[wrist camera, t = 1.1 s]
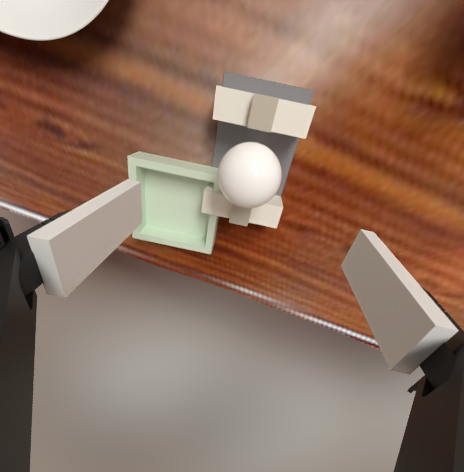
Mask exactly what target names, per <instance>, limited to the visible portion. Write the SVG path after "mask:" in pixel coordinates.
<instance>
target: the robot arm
mask: <svg viewBox="0 0 464 472" xmlns="http://www.w3.org/2000/svg"><path fill="white" fill-rule="evenodd" d="M141 223H142V203H141V182H139V181H135V180H130V179H127V180H126V181H124V182H122V183H120V184H118V185H117V186H115V187H113V188H111V189H109V190H108V191H106V192H104V193H102V194H100V195H99V196H97V197H95V198H93V199H91V200H90V201H88V202H86V203H84V204H83V205H81V206H79V207H77V208H75V209H74V210H68V211H65V212H61V213H58V214H56V215H55V216H53V217H51V218H49V220H45V221H43V222H42V223H41V224H38V225H36V226H34V227H32V228H30V229H28V230H27V231H25V232H23V233H21V234H19V235H17V236H16V237H14V235H13V232H12V229H11V227H10V224H9V222H8V220H7V219H5V218H3V217H0V472H30V449H31V425H32V401H33V400H32V399H33V376H34V355H35V331H36V308H37V307H36V306H37V295H36V292H35V289H36V288H37V287H39V286H40V285H41V284H42V283H43V285H44V287H45V290H46V293H47V294H50V295H54V296H59V297H63V298H66V297H67V296H68V295H69V294H70V293H71V292H72V291H73V290H74V289H75V288H76V287H77V286H78V285H79V284H80V283H81V282H82V281H83V280H84V279H85V278H86V277H87V276H88V275H89V274H90V273H91V272H92V271H93V270H94V269H95V268H96V267H98V266H99V265H100V264H101V263H102V262H103V261H104V260H105V259H106V258H107V257H108V256H109V255H110V254H111V253H112V252H113V251H114V250H115V249H116V248H117V247H118V246H119V245H120V244H121V243H122V242H123V241H124V240H125V239H126V238H127V237H128V236H129V235H130V234H131V233H132V232H133V231H134V230H135V229H136V228H137V227H138V226H139V225H140V224H141ZM341 268H342V270H343V272H344V274H345V276H346V278H347V280H348V282H349V284H350V287H351V289H352V291H353V293H354V295H355V297H356V299H357V301H358V303H359V305H360V307H361V310H362V312H363V314H364V316H365V318H366V320H367V322H368V324H369V326H370V328H371V331H372V333H373V335H374V337H375V339H376V341H377V343H378V345H379V347H380V349H381V351H382V354H383V356H384V358H385V360H386V362H387V364H388V366H389V368H390V370H392V371H396V372H401V373H406V374H411V373H412V372H413V371H414V370H415V369H416V368H418V367H419V366H420V367H421V368H422V370H423V372H424V373H425V376H423V377H422V378H421V379H420V380H419V381H418V382H416V383H415V384H414V385H413V386H411V387H410V388H409V390H408V391H409V392H410V393H412V392H413V391H416V394H415V398H414V401H413V405H412V408H411V412H410V415H409V419H408V423H407V426H406V430H405V433H404V437H403V440H402V444H401V448H400V452H399V455H398V458H397V462H396V465H395V469H394V472H464V331H463V330H462V329H461V328H460V327H459V326H458V325H457V323H456V322H455V321H454V320H453V319H452V318H451V317H450V315H449V314H448V313H447V312H445V310H444V309H443V307H442V306H441V305H440V304H438V302H437V301H436V300H435V298H434V297H433V296H432V295H431V294H430V293H429V292H428V291H426V290H425V289H424V288H423V287H421V286H420V285H419V284H418V283H417V282H416V280H415V279H414V278H413V277H412V276H411V275H410V274H409V272H408V271H407V270H406V269H405V268H404V267H403V265H402V264H401V263H400V262H399V261H398V260H397V258H396V257H395V256H394V255H393V254H392V253H391V251H390V250H389V249H388V248H387V247H386V246H385V245H384V243H383V242H382V241H381V240H380V239H379V238H378V236H377V235H376V234H375V233H374V232H371V231H366V230H362V229H361V230H360V232H359V233H358V235H357V237H356V239H355V241H354V243H353V244H352V246H351V248H350V250H349V252H348V253H347V255H346V257H345V259H344V261H343V262H342V264H341Z"/></svg>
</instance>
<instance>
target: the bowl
mask: <svg viewBox="0 0 464 472" xmlns="http://www.w3.org/2000/svg"><path fill="white" fill-rule="evenodd" d="M108 1H109V0H0V32H2V33H5V34H8V35H11V36H14V37H18V38H22V39H27V40H36V41H46V40H55V39H59V38H63V37H66V36H69V35H71V34H73V33H75V32H77V31H79V30H81V29H82V28H84V27H85V26H86V25H88V24H89V23H90V22H91V21H92V20H93V19H94V18H95V17H96V16H97V15H98V14H99V13H100V12H101V11H102V9H103V8H104V7H105V5H106V4H107V3H108Z"/></svg>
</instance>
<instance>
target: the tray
mask: <svg viewBox="0 0 464 472" xmlns="http://www.w3.org/2000/svg"><path fill="white" fill-rule="evenodd" d="M127 157H128V173H129V179H130V180H135V181H139V182H141V203H142V223H141V224H140V225H139V226H138V227H137V228H136V229H135V230H134V231H133V232H132V238H136V239H141V240H145V241H150V242H155V243H159V244H164V245H169V246H174V247H178V248H183V249H188V250H192V251H197V252H202V253H206V254H211V252H212V249H213V246H214V243H215V237H216V231H217V225H218V219H219V216H216V215H211V214H206V213H201V211H202V203H203V195H204V190H205V188H206V187H207V185H208V184H209V183H214V188H213V190H215V191H220V192H221V190H220V188H219V185H218V180H217V171H218V168H215V167H211V166H206V165H201V164H196V163H192V162H187V161H182V160H178V159H173V158H168V157H163V156H159V155H154V154H149V153H144V152H140V151H139V152H136V153H134V154H131V155H129V156H127Z"/></svg>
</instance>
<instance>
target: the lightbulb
mask: <svg viewBox="0 0 464 472" xmlns="http://www.w3.org/2000/svg"><path fill="white" fill-rule="evenodd" d="M217 180H218V185H219V188H220V190H221V192H222V194H223V195H224V197H225V198H226V199H227V200H228V201H229V202H231V203H232V204H234V205H236V206H238V207H241V208H248V209H250V208H257V207H260V206H262V205H264V204H266V203H268V202H269V201H270V200H271V199H272V198H273V197H274V196H275V195H276V193H277V191H278V189H279V187H280V184H281V180H282V170H281V165H280V162H279V160H278V158H277V156H276V155H275V153H274V152H273V151H272V150H271V149H270V148H268V147H267V146H265V145H263V144H260V143H257V142H244V143H240V144H237V145H235V146H234V147H232V148H231V149H229V150H228V151H227V152H226V153H225V155H224V156H223V157H222V159H221V161H220V163H219V166H218V171H217Z"/></svg>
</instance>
